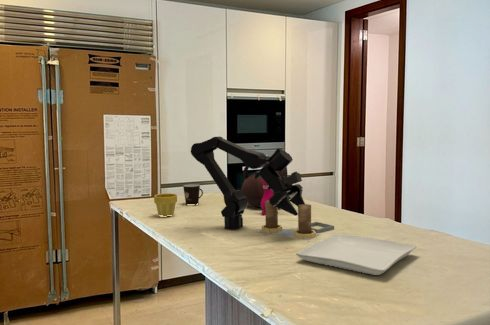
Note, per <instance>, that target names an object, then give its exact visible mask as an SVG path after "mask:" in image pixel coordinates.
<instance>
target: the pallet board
mask: <svg viewBox="0 0 490 325" xmlns="http://www.w3.org/2000/svg"><path fill="white" fill-rule="evenodd" d="M256 232H258V233H264V234H267V235H268V234H269V235H273V236H274V235H275V236H281V237H286V238H291V239H295V240H296V239H297V240H303V241H308V243H309V242H311V241H310V240H312V239H315V238H317V237H319V236H320V233H316V232H315V231H314V230H311V234H300V233H298V229H296V230H294V229H287V228H283V226H282V225H281V224H278V228H266V224H263V225H261V229H259V230H256Z"/></svg>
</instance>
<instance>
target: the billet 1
mask: <svg viewBox="0 0 490 325" xmlns="http://www.w3.org/2000/svg"><path fill="white" fill-rule="evenodd" d="M275 206H276V205H275ZM275 206H273V207H272V205H271V204H270V203H269V201H265V215H264V216H265V225H266V228H278V225H279V224H278V223H279V222H278V221H279V218H278V217H279V214H278V213H279V211H278V209H279V208H277V207H275Z"/></svg>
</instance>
